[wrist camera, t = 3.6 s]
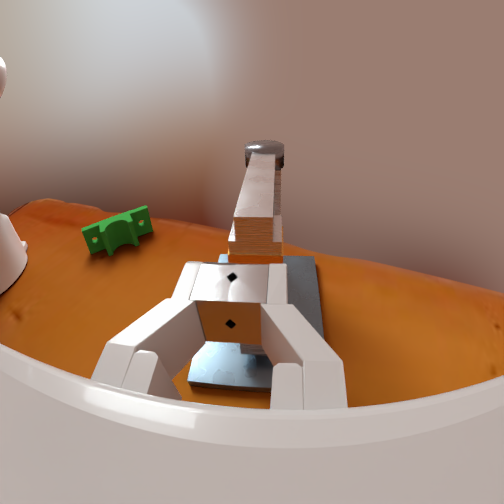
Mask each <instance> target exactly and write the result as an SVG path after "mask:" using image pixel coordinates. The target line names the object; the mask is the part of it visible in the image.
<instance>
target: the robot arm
mask: <svg viewBox="0 0 504 504" xmlns="http://www.w3.org/2000/svg"><path fill="white" fill-rule="evenodd" d="M6 77H7V71H6V66H5V63H4V61H3V59H2V58H1V57H0V98H1V96H2V94H3V91H4V88H5V85H6ZM27 246H28V245H27V244H26V242H25V241H22V242H21V241H20V239H19V237H18V235H17V233H16V232H15V230H14V228H13V226H12V224H11V222H10V220H9V218H8V217H7V216H6V215H3V214H1V213H0V294H1V293H3V292H4V291H5V290H6V289H7V288H9V287H10V286H11V285H12V284H13V283H14V281H15V280H16V279H17V278H18V277H19V275H20V274H21V273H22V271H23V269H24V268H25V265H26V263H27V254H26V250H27ZM206 342H225V343H241V344H255V345H262V348H263V349H264V351H265V353H266V354H267V356H268V358H269V360H270V361H271V363H272V365H273V366H274V367H273V376H272V390H271V402H270V409H253V408H239V407H227V406H217V405H209V404H201V403H194V402H187V401H181V400H182V397H181V395H180V394H179V392H178V390H177V389H176V387H175V385H174V384H173V382H172V379H173V378H174V377H175V376H176V375H177V374H178V373H179V372H180V371H181V369H182V368H183V367H184V366H185V365H186V364H187V363H188V362H189V361H190V360H191V359H192V358H193V357H194V356H195V354H196V353H197V352H198V351H199V350H200V349H201V348H202V347H203V346H204V345H205V344H206ZM0 504H504V375H503V376H500V377H497V378H495V379H492V380H489V381H485V382H482V383H479V384H476V385H472V386H469V387H466V388H462V389H458V390H454V391H450V392H446V393H442V394H438V395H433V396H428V397H424V398H418V399H413V400H407V401H401V402H395V403H388V404H380V405H372V406H363V407H351V408H348V407H347V396H346V386H345V376H344V368H343V361H342V360H341V359H340V358H339V356H338V355H337V354H336V353H335V352H334V351H333V350H332V348H331V347H330V346H329V345H328V344H327V343H326V342H325V340H324V339H323V338H322V337H321V336H320V335H319V334H318V332H317V331H316V330H315V329H314V328H313V327H312V326H311V324H310V323H309V322H308V321H307V320H306V319H305V318H304V316H303V315H302V314H301V313H300V312H299V311H298V310H297V308H296V307H295V306H294V305H293V304H288V284H287V264H236V263H217V262H192V261H188V262H187V263H186V264H185V266H184V268H183V271H182V273H181V275H180V278H179V280H178V283H177V285H176V288H175V290H174V293H173V295H172V298H171V299H167V298H166V299H165V300H164V301H162V302H161V303H160V304H158V305H157V306H155V307H154V308H153V309H151V310H150V311H149V312H147V313H146V314H145V315H143V316H142V317H140V318H139V319H138V320H136V321H135V322H134V323H132V324H131V325H130V326H128V327H127V328H126V329H124V330H123V331H121V332H120V333H119V334H117V335H116V336H115V337H113V338H112V339H111V340H109V341H108V342H107V344H106V346H105V348H104V350H103V352H102V354H101V357H100V359H99V361H98V363H97V366H96V368H95V370H94V373H93V375H92V377H91V380H90V379H87V378H84V377H81V376H78V375H75V374H72V373H69V372H66V371H63V370H61V369H58V368H55V367H53V366H50V365H47V364H45V363H42V362H40V361H37V360H35V359H33V358H30V357H28V356H26V355H24V354H21V353H19V352H17V351H15V350H13V349H11V348H8V347H6V346H4V345H2V344H0Z"/></svg>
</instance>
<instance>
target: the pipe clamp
mask: <svg viewBox="0 0 504 504" xmlns="http://www.w3.org/2000/svg"><path fill="white" fill-rule="evenodd" d="M140 220H144V221H143V222H142V223H139V221H140ZM152 231H153V229H152V225H151V221H150V217H149V212H148V209H147V207H146V206H142V207H139V208H136V209H134V210H130V211H128V212H125V213H122V214H119V215H116V216H113V217H111V218H108V219H105V220H102V221H100V222H97V223H95V224H92V225H89V226H87V227H84V228H82V233H83V235H84V238H85V241H86V243H87V246H88V248H89V251H90V253H91V254H93V253H96V252H98V251H101V250H103V249H106V250H107V252H108V255H109V256H111V255H113V252H114V250H115V249H116V248H117V247H119V246H121V245H123V244H128V243H129V244H133V245H135V246H138V245H139V241H138V238H137V237H138V236H141V235H144V234H146V233H149V232H152ZM93 237H97V239H96V240H92V238H93Z"/></svg>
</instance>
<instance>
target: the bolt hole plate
mask: <svg viewBox="0 0 504 504" xmlns="http://www.w3.org/2000/svg"><path fill="white" fill-rule="evenodd" d="M218 263H228V254H220V257H219V261H218ZM283 264H287V284H288V304H293V305H294V306H295V307H296V308H297V310H298V311H299V312H300V313H301V314H302V315H303V316H304V318H305V319H306V320H307V321H308V322H309V323H310V324H311V326H312V327H313V328H314V329H315V330H316V331H317V332H318V334H319V335H320V336H321V337H322V338H323V339H324V334H323V324H322V315H321V306H320V298H319V290H318V282H317V274H316V267H315V260H314V256H283ZM273 367H274V366H273V365H272V363H271V361H270V360H269V358H268V356H267V355H249V354H241V350H240V343H225V342H206V344H205V345H204V346H203V347H202V348H201V349H200V350H199V351H198V352H197V353H196V354H195V356H194V357H193V359H192V363H191V367H190V371H189V376H188V380H187V381H188V383H189V385H191V386H198V387H206V388H215V389H226V390H237V391H252V392H271V390H272V376H273Z"/></svg>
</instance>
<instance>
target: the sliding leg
mask: <svg viewBox="0 0 504 504" xmlns="http://www.w3.org/2000/svg"><path fill="white" fill-rule="evenodd" d="M228 244H229V251H228V263H236V264H283V227H282V216H281V215H274V222H273V242H259V241H235V230H234V222H233V225H232V229H231V232H230V236H229V240H228ZM240 350H241V354H249V355H267V354H266V353H265V351H264V349H263V348H262V345H255V344H241V343H240Z"/></svg>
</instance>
